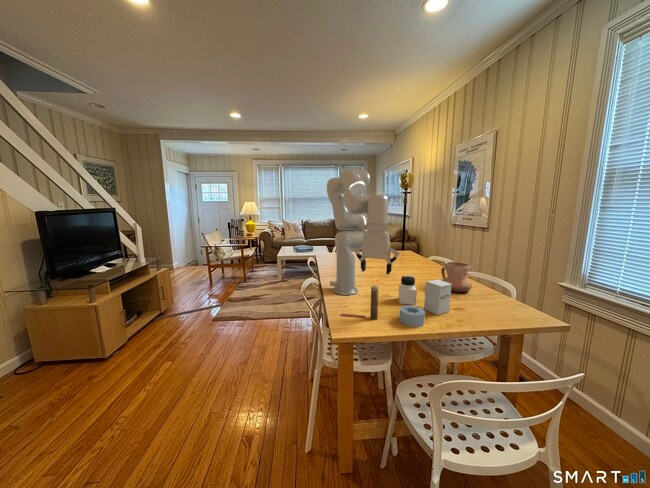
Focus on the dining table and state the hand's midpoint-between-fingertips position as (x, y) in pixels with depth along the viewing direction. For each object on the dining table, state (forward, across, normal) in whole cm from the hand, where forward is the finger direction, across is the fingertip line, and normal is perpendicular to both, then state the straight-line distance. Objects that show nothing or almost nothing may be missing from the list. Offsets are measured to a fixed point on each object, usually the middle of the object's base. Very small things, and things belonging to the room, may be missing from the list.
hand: (375, 272), depth 98 cm
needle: (+19, 0, 0) cm, 19 cm away
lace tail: (+19, -8, -2) cm, 21 cm away
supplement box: (+19, +22, +19) cm, 35 cm away
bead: (+19, +14, +4) cm, 24 cm away
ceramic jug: (+19, +29, +53) cm, 64 cm away
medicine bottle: (+19, +9, +24) cm, 32 cm away
